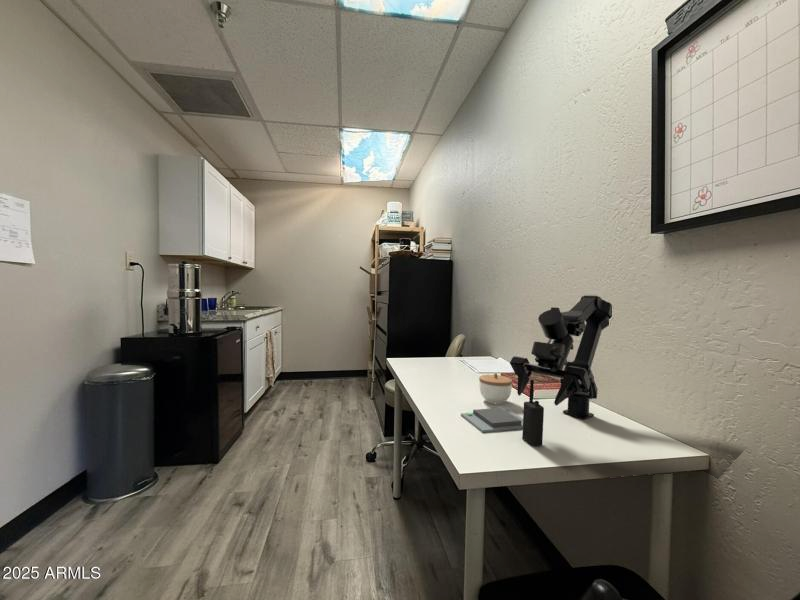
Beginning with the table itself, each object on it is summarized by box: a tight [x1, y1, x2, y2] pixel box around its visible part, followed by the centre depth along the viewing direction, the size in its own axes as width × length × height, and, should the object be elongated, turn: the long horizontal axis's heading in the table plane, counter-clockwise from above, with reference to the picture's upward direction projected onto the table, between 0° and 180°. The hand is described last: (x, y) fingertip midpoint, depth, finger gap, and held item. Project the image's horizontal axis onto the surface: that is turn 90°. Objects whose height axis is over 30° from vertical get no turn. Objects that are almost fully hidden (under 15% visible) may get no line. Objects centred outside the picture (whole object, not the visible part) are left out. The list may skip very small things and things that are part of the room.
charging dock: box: [460, 407, 523, 433], centre depth 91 cm, size 16×12×2 cm
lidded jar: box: [478, 372, 513, 405], centre depth 109 cm, size 11×11×9 cm
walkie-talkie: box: [522, 378, 545, 447], centre depth 79 cm, size 5×3×15 cm
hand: (536, 399), depth 80 cm, fingers open, 9 cm apart
